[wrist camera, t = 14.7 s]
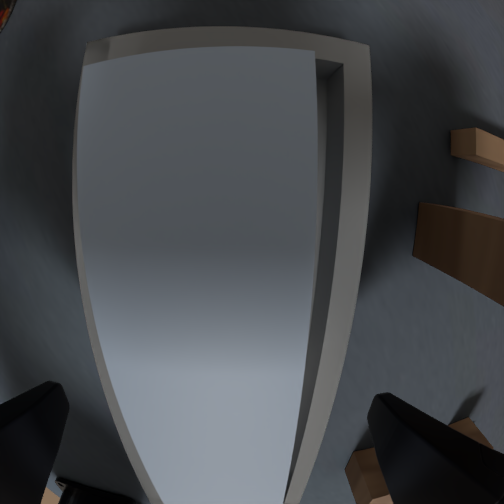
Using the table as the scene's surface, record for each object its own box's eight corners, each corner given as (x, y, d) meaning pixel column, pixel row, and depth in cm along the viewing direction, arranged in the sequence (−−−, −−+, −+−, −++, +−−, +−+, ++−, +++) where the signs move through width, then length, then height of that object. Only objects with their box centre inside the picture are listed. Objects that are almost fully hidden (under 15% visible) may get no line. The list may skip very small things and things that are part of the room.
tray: (155, 477, 12) (150, 503, 10) (112, 63, 8) (87, 42, 6) (292, 480, 13) (297, 507, 11) (345, 67, 8) (369, 45, 6)
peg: (189, 472, 12) (182, 535, 8) (144, 108, 8) (83, 65, 4) (267, 472, 12) (275, 535, 8) (279, 103, 8) (314, 51, 4)
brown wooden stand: (344, 470, 13) (367, 537, 8) (421, 121, 9) (531, 103, 4) (456, 436, 14) (489, 482, 8) (537, 167, 9) (609, 178, 4)
